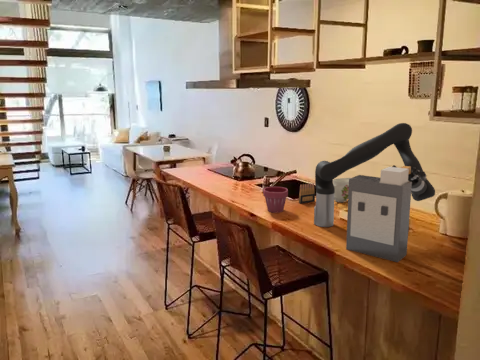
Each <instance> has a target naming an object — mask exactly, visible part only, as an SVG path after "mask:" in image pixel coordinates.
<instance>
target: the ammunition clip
mask: <svg viewBox="0 0 480 360" xmlns="http://www.w3.org/2000/svg"><path fill="white" fill-rule="evenodd" d="M313 202H314V203H316V193H315V182H312V183H310V184H309V182H308V183H305V184H304V183H303V184H300V186H299V195H298V203H299V204H308V203H313Z"/></svg>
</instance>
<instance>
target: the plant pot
mask: <svg viewBox="0 0 480 360" xmlns="http://www.w3.org/2000/svg"><path fill="white" fill-rule="evenodd" d="M263 197H264V199H265V200H264V201H265V203H266V208H267V212H269V213H273V214H279V213H282V212H283V211H284V208H285V204H286V202H287V201H286V200H287V197H289V190H288V188H287V187H283V186H267V187H264V188H263Z"/></svg>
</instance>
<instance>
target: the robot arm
mask: <svg viewBox="0 0 480 360" xmlns="http://www.w3.org/2000/svg"><path fill="white" fill-rule="evenodd" d="M412 133H413V127H412V126H411V124H408V123H406V122H401V123H398V124H395V125H393V126H392V127H390V128H389V129H388V130H386V131H385V132H382V133H381V134H378V135H376V136H374V137H371V138H370V139H368V140H366V141H364V142H361V143H360V144H357V145H356V146H354V147H352V148H351V149H350V150H349V151H348V152H347V153H346V154H345V155H343V156H342V157H340V158H338V159H336V160H333V161H331V162H330V161H328V160H322V161H320V162H318V163H317V165H316V166H315V170H314V179H315V181H314V186H315V189H316V190H315V191H316V193H315V205H314V208H313V209H314V211H313V225H316V226H317V227H322V228H323V227H324V228H330V227H333V226H334V224H335V223H334V221H335V218H334V217H335V200H334V194H335V188H334V185H333V180H334V179H337V178H338V177H339V176H341V175H342V174H344V173H345V172H347V171H349V170H352V169H353V168H355V167H358V166H360V165H361V164H363V163H366V162H368V161H370V160H372V159H374V158H376V157H377V156H378V155H379V154H380V153H382V152H383V151H384V150H385V149H387V148H389V147H391V146H392V145H394V147H395V148H396V150H397V152H398V154H399V156H400V158H401V160H402V162H403V166H409V167H411V174H408V181H410V182H412V188H411V197H412V199H413V200H414V201H416V202H420V201H421V202H422V201H425V200H427V199H431V198H432V197H434V196H435V195H436V189H435V187H434V186H433V184H432V183H431V182H430V181H429V179H428V178H427V174H426V172H425V171H424V169H423V167H422V165H421V162H420V161H419V159H418V158H417V156H416V155H415V153H414V152H413V150H412V148H411V144H410V138H411V137H412ZM391 167H397V165H392V166H391Z"/></svg>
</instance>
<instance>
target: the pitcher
mask: <svg viewBox="0 0 480 360" xmlns="http://www.w3.org/2000/svg"><path fill="white" fill-rule="evenodd" d="M350 178H351V177H344V178H343V177H342V178H341V177H340V178H335V179H333V185H334V188H335V194H334V202H336V203H345V202H346V203H347V202H348V190H349V179H350Z"/></svg>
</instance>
